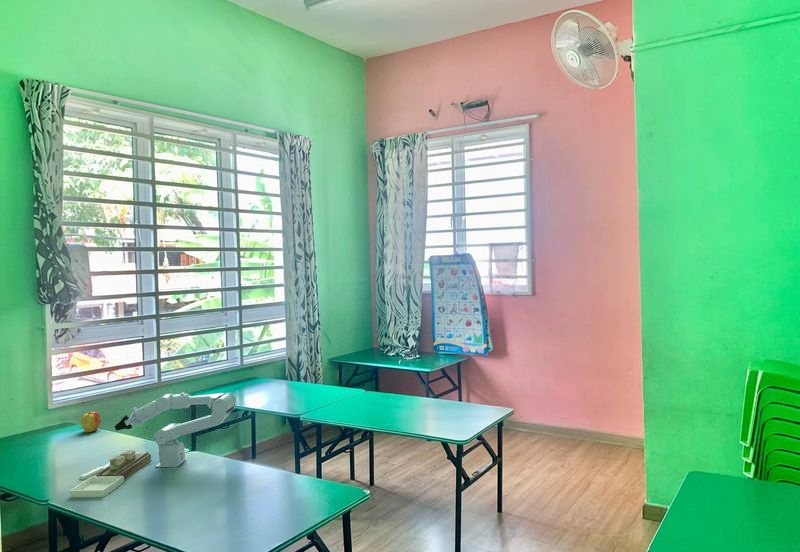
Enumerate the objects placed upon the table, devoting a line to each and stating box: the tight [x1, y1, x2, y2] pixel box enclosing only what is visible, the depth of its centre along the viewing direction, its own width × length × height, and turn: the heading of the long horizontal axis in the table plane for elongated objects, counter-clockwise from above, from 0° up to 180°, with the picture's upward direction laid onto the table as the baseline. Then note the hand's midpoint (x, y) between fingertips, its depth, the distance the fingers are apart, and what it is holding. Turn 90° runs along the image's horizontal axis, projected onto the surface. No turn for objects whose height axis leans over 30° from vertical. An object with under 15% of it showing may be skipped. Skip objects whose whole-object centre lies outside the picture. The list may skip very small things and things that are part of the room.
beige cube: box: [119, 449, 136, 464], centre depth 232 cm, size 4×4×4 cm
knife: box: [79, 461, 110, 481], centre depth 238 cm, size 30×2×8 cm
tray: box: [68, 475, 125, 498], centre depth 213 cm, size 13×13×2 cm
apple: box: [80, 411, 102, 433], centre depth 288 cm, size 9×9×10 cm
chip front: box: [109, 455, 126, 469], centre depth 226 cm, size 4×4×4 cm
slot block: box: [95, 451, 152, 481], centre depth 231 cm, size 10×22×4 cm, turn 175°
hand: (121, 425), depth 238 cm, fingers open, 7 cm apart
